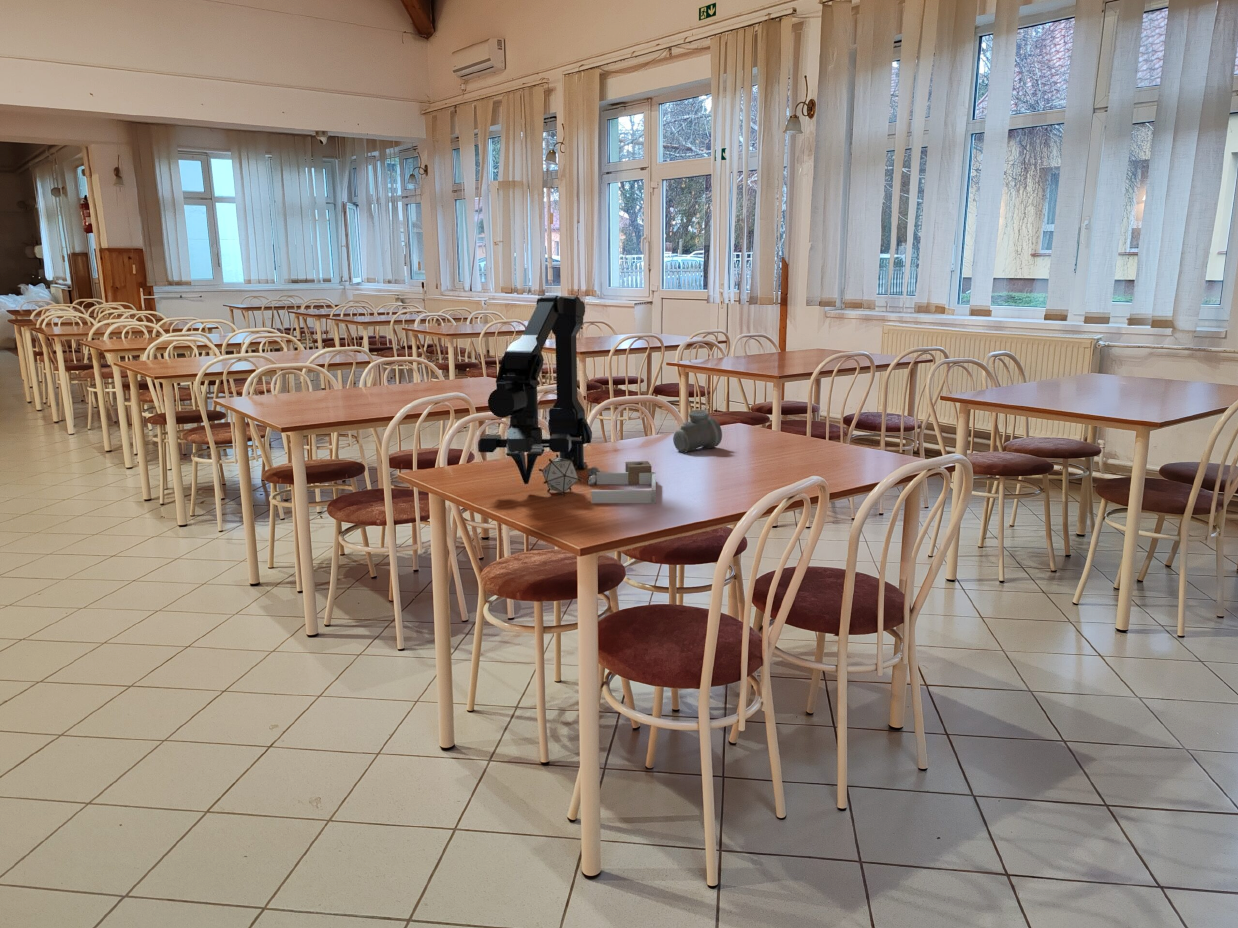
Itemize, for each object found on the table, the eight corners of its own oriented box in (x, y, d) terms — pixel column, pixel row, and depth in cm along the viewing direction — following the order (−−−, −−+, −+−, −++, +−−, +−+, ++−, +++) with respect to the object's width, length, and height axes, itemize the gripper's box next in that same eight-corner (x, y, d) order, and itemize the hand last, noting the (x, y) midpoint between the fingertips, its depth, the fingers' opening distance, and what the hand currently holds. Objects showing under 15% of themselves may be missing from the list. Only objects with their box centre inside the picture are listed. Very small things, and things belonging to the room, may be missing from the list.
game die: (557, 512, 181) (534, 480, 175) (549, 489, 188) (526, 458, 182) (594, 491, 180) (572, 459, 175) (584, 469, 187) (563, 437, 181)
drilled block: (625, 479, 193) (625, 461, 192) (647, 478, 194) (647, 460, 193) (628, 484, 188) (628, 466, 187) (651, 483, 189) (651, 465, 188)
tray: (597, 483, 190) (596, 472, 189) (655, 483, 189) (655, 472, 189) (591, 503, 174) (591, 491, 173) (655, 503, 173) (655, 491, 173)
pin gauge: (588, 477, 195) (588, 466, 195) (599, 477, 195) (599, 466, 195) (586, 485, 188) (585, 475, 187) (597, 485, 188) (597, 475, 187)
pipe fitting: (702, 442, 232) (701, 405, 228) (723, 449, 226) (723, 411, 222) (668, 453, 225) (666, 415, 221) (689, 460, 219) (687, 422, 215)
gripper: (470, 416, 171) (474, 493, 175) (564, 416, 170) (566, 493, 174) (481, 407, 182) (485, 480, 185) (570, 407, 181) (572, 480, 185)
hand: (526, 483), depth 182 cm, fingers closed
